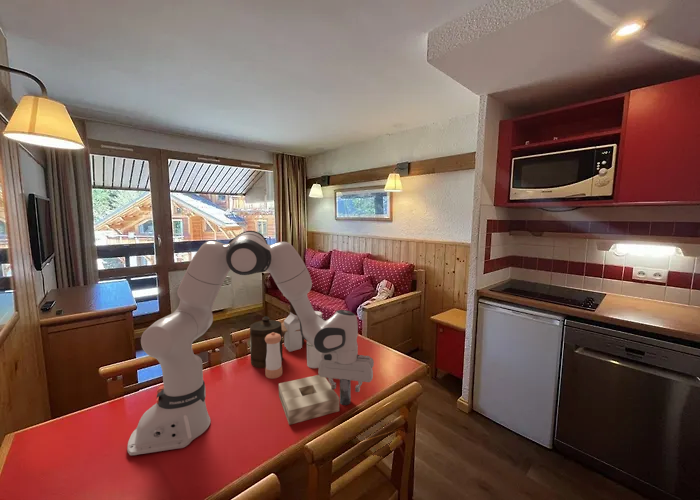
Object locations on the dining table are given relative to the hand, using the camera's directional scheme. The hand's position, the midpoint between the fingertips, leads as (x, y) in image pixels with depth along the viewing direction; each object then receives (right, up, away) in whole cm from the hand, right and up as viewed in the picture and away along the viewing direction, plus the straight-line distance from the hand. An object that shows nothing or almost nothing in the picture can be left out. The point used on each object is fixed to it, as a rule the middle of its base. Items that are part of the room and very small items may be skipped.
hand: (345, 389), depth 110 cm
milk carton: (-28, -1, +47) cm, 55 cm away
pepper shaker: (-32, -3, +20) cm, 38 cm away
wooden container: (-38, -2, +33) cm, 51 cm away
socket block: (-14, -5, 0) cm, 15 cm away
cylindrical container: (-15, -2, +29) cm, 33 cm away
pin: (0, -5, +1) cm, 5 cm away
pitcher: (-29, 0, +52) cm, 59 cm away
